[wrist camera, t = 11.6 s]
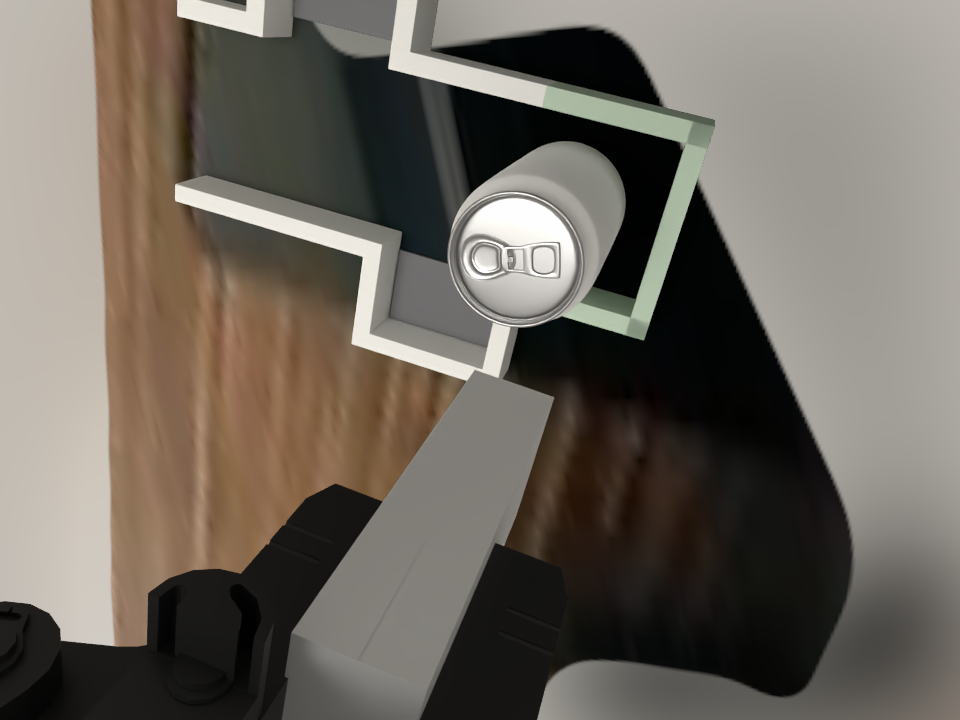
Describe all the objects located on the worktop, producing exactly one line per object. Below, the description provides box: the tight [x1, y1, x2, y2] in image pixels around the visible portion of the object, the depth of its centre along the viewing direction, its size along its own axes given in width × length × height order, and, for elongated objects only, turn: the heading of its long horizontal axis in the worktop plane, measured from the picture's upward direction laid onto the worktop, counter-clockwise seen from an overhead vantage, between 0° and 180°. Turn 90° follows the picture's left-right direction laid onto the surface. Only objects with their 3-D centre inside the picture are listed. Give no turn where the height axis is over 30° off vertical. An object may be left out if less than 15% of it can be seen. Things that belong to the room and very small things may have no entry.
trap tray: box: [175, 0, 715, 381], centre depth 40 cm, size 28×22×3 cm
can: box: [447, 141, 626, 328], centre depth 35 cm, size 6×6×12 cm
